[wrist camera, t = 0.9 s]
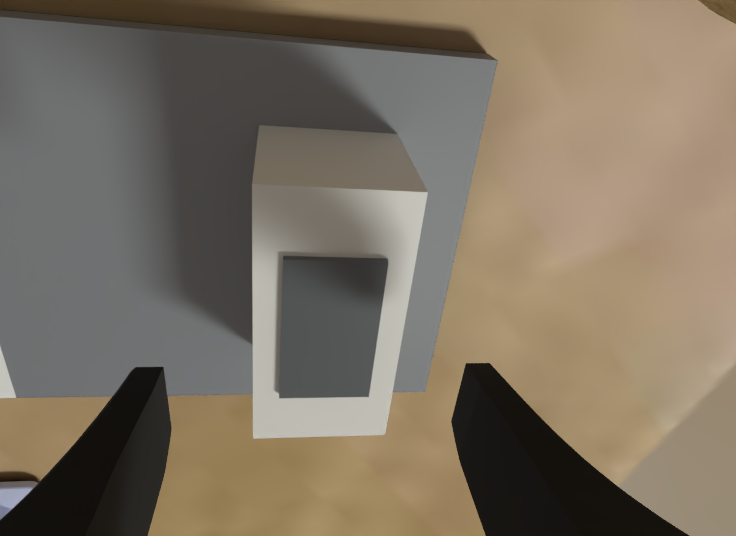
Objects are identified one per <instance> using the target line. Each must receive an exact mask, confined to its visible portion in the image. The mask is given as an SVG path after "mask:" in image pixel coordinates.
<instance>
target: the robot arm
mask: <svg viewBox="0 0 736 536" xmlns="http://www.w3.org/2000/svg"><path fill="white" fill-rule="evenodd" d="M451 422H452V427H453V432H454V437H455V442H456V447H457V451H458V455H459V460H460V463H461V466H462V469H463V472H464V475H465V478H466V481H467V483H468V486H469V489H470V492H471V495H472V498H473V501H474V503H475V506H476V509H477V512H478V515H479V518H480V521H481V523H482V526H483V529H484V532H485V535H486V536H689V535H687V534H686V533H684V532H683V531H681V530H679V529H678V528H676V527H675V526H673V525H672V524H670V523H669V522H667V521H665V520H664V519H662V518H661V517H659V516H658V515H656V514H655V513H654V512H652V511H651V510H649V509H648V508H646V507H645V506H643V505H642V504H641V503H639V502H638V501H637V500H635V499H634V498H632V497H631V496H630V495H628V494H627V493H626V492H624V491H623V490H622V489H620V488H619V487H618V486H616V485H615V484H614V483H613V482H611V481H610V480H609V479H608V478H606V477H605V476H604V475H603V474H601V473H600V472H599V471H598V470H596V469H595V468H594V467H593V466H592V465H591V464H589V463H588V462H587V461H586V460H585V459H584V458H582V457H581V456H580V455H579V454H578V453H577V452H576V451H575V450H574V449H573V448H571V447H570V446H569V445H568V444H567V443H566V442H565V441H564V440H563V439H562V438H561V437H560V436H558V435H557V434H556V433H555V432H554V431H553V430H552V429H551V428H550V427H549V426H548V425H547V424H546V423H545V422H544V421H543V420H542V419H541V418H540V417H539V416H538V415H537V414H536V413H535V412H534V411H533V409H532V408H531V407H530V406H529V405H528V404H527V403H526V402H525V401H524V400H523V399H522V398H521V397H520V396H519V395H518V394H517V392H516V391H515V390H514V389H513V388H512V387H511V386H510V385H509V384H508V383H507V382H506V381H505V379H504V378H503V377H502V376H501V375H500V374H499V373H498V372H497V371H496V370H495V369H494V368H493V366H492V365H491V364H490V363H466V366H465V370H464V374H463V377H462V381H461V385H460V389H459V393H458V397H457V401H456V405H455V409H454V413H453V417H452V421H451ZM170 436H171V422H170V414H169V406H168V398H167V390H166V382H165V374H164V367H135V368H134V369H133V370H132V371H131V372H130V373H129V374H128V376H127V377H126V379H125V380H124V382H123V383H122V384H121V386H120V387H119V389H118V390H117V391H116V393H115V394H114V395H113V397H112V398H111V399H110V401H109V402H108V403H107V405H106V406H105V407H104V408H103V410H102V411H101V412H100V414H99V415H98V416H97V417H96V419H95V420H94V421H93V422H92V423H91V425H90V426H89V427H88V428H87V429H86V431H85V432H84V433H83V434H82V436H81V437H80V438H79V439H78V440H77V442H76V443H75V444H74V445H73V446H72V447H71V448H70V450H69V451H68V452H67V453H66V454H65V455H64V456H63V457H62V458H61V459H60V461H59V462H58V463H57V464H56V465H55V466H54V467H53V468H52V469H51V470H50V472H49V473H48V474H47V475H46V476H45V477H44V478H43V479H42V480H41V481H40V482H39V483H38V482H35V481H13V482H0V536H147V535H148V532H149V528H150V525H151V521H152V517H153V514H154V510H155V507H156V503H157V499H158V496H159V492H160V488H161V485H162V481H163V477H164V473H165V468H166V462H167V456H168V449H169V443H170Z"/></svg>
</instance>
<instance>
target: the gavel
mask: <svg viewBox="0 0 736 536" xmlns="http://www.w3.org/2000/svg"><path fill="white" fill-rule="evenodd" d="M699 1H700V2H701V3H703V4H704V5H705V6H706V7H708V8H709V9H710V10H712V11H713V12H715V13H717V14H718V15H720V16H722V17H724V18H726V19H727V20H729V21H731V22H733V23H735V24H736V0H699Z"/></svg>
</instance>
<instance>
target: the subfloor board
mask: <svg viewBox="0 0 736 536" xmlns="http://www.w3.org/2000/svg"><path fill="white" fill-rule="evenodd" d="M497 61H498V60H496V59H495V58H493V57H492V56H490V55H489V54H485V53H474V52H463V51H452V50H441V49H430V48H419V47H408V46H396V45H385V44H374V43H363V42H352V41H341V40H330V39H319V38H307V37H296V36H285V35H274V34H263V33H252V32H241V31H230V30H218V29H207V28H196V27H185V26H174V25H163V24H152V23H140V22H129V21H118V20H107V19H96V18H85V17H74V16H63V15H51V14H40V13H29V12H18V11H7V10H0V398H36V397H105V396H113V395H114V394H115V393H116V391H117V390H118V389H119V387H120V386H121V384H122V383H123V382H124V380H125V379H126V377H127V376H128V374H129V373H130V372H131V371H132V370H133V369H134V368H135V367H164V374H165V382H166V390H167V396H175V395H245V394H253V304H252V180H253V172H254V163H255V155H256V147H257V139H258V130H259V125H265V126H281V127H297V128H313V129H329V130H344V131H360V132H376V133H392V134H398V135H399V137H400V139H401V141H402V143H403V145H404V147H405V149H406V151H407V153H408V155H409V157H410V158H411V160H412V162H413V164H414V166H415V168H416V170H417V172H418V174H419V176H420V178H421V180H422V182H423V184H424V186H425V188H426V189H427V191H428V195H427V201H426V206H425V212H424V217H423V223H422V229H421V234H420V240H419V246H418V251H417V257H416V263H415V268H414V274H413V280H412V285H411V291H410V297H409V302H408V308H407V313H406V319H405V325H404V330H403V336H402V342H401V347H400V353H399V359H398V364H397V370H396V376H395V381H394V387H393V392H425V390H426V385H427V381H428V376H429V372H430V367H431V362H432V358H433V353H434V349H435V344H436V340H437V335H438V331H439V326H440V321H441V317H442V312H443V308H444V303H445V299H446V294H447V289H448V285H449V280H450V276H451V271H452V267H453V262H454V258H455V253H456V248H457V244H458V239H459V235H460V230H461V226H462V221H463V216H464V212H465V207H466V203H467V198H468V194H469V189H470V184H471V180H472V175H473V171H474V166H475V162H476V157H477V153H478V148H479V143H480V139H481V134H482V130H483V125H484V121H485V116H486V111H487V107H488V102H489V98H490V93H491V89H492V84H493V80H494V75H495V70H496V66H497Z"/></svg>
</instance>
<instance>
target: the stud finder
mask: <svg viewBox="0 0 736 536" xmlns="http://www.w3.org/2000/svg"><path fill="white" fill-rule="evenodd" d="M427 195H428V191H427V189H426V188H425V186H424V184H423V182H422V180H421V178H420V176H419V174H418V172H417V170H416V168H415V166H414V164H413V162H412V160H411V158H410V157H409V155H408V153H407V151H406V149H405V147H404V145H403V143H402V141H401V139H400V137H399V135H398V134H392V133H376V132H360V131H344V130H329V129H313V128H297V127H281V126H265V125H259V130H258V139H257V147H256V155H255V163H254V172H253V180H252V304H253V438H287V437H324V436H361V435H385V432H386V426H387V421H388V415H389V409H390V404H391V398H392V393H393V387H394V381H395V376H396V370H397V364H398V359H399V353H400V347H401V342H402V336H403V330H404V325H405V319H406V313H407V308H408V302H409V297H410V291H411V285H412V280H413V274H414V268H415V263H416V257H417V251H418V246H419V240H420V234H421V229H422V223H423V217H424V212H425V206H426V201H427Z"/></svg>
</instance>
